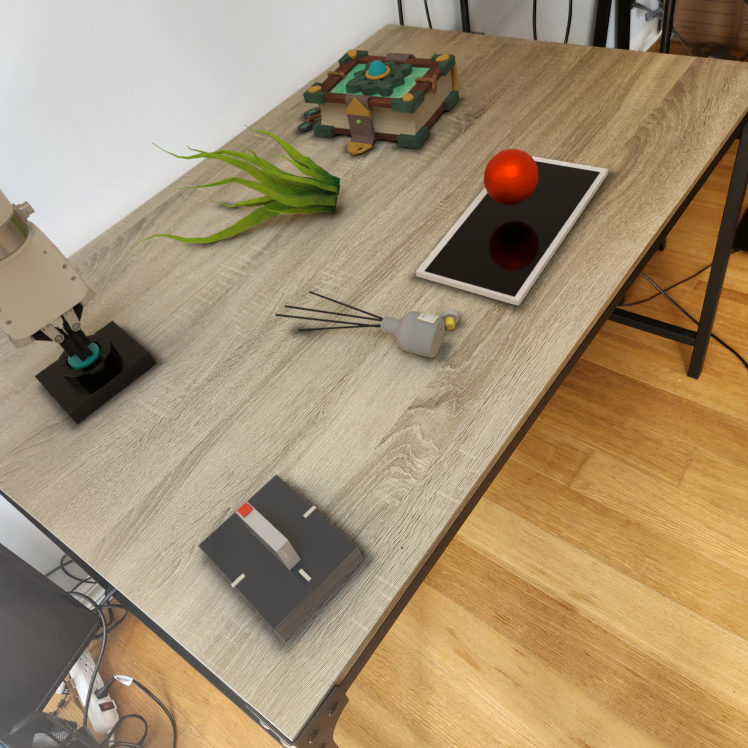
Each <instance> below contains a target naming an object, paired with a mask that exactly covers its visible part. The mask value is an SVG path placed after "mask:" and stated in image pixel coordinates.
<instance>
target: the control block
mask: <svg viewBox="0 0 748 748" xmlns="http://www.w3.org/2000/svg"><path fill="white" fill-rule="evenodd" d="M86 336H87V337H88V339H89V340H90V341H91V342H92V343H95V344H97V345H98V347H99V348H100V349H101V354H100V355H99V357H98V358H97V360H96V361H94V362H93V363H91V364H90V365H89V366H87V367H84V368H81V369H73V368H72V367H71V365H70V364H69V363H68V356H69V355H68V354H67V353H66V352H65V351H64V350H63V351H62V353H61V354H60V355H59V357H58V359H56V360H55V361H54V362H51V364H50V365H48V366H46V367H45V368H43V369H42V370H41V371H39V372H38V373H36V374H35V375H34V378H35V379H36V380H37V381H38V382H39V384H40V385H41V386H42V387H43V388H44V389H45V391H46V392H47V393H48V394H49V396H51V397H52V399H54V401H55V402H56V403H57V404H58V405H59V407H61V409H63V411H64V412H65V413H66V414H67V416H68V417H70V419H71V420H72V421H73V422H74V423H75V424H76V425H79V423H81V422H83V420H85V419H86V418H87V417H89V416H90V415H91V414H93V413H94V412H95V411H97V410H98V409H99V408H100V407H102V406H103V405H104V404H106V403H107V402H108V401H109V400H111V399H113V397H115V396H116V395H118V394H119V393H120V392H122V391H123V390H124V389H126V388H127V387H128V386H129V385H130V384H132V383H134V382H135V381H136V380H138V379H139V378H140V377H141V376H142V375H144V374H145V373H147V372H148V371H149V370H151V369H152V368H153V367H154V366H156V365H157V361H156V359H155V358H154V357H153V355H152V354H151V352H150V351H148V350H147V349H146V348H145V347H144V346H143V345H142V344H140V342H138V341H137V340H136V339H135V338H134V337H133V336H131V335H130V334H129V333H128V332H127V331H126V330H124V329H123V328H122V327H121V326H120V325H118V324H117V323H116V322H115V321H114V320H111V321H109V322H108V323H106V324H104V326H103V327H101V328H100V329H98V330H97V331H95V332H94V333H92V334H89V335H86Z"/></svg>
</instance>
